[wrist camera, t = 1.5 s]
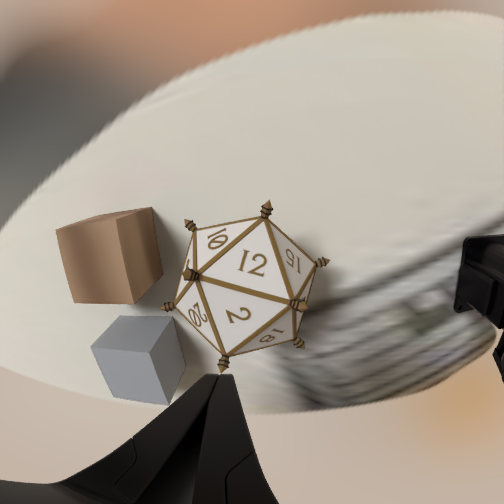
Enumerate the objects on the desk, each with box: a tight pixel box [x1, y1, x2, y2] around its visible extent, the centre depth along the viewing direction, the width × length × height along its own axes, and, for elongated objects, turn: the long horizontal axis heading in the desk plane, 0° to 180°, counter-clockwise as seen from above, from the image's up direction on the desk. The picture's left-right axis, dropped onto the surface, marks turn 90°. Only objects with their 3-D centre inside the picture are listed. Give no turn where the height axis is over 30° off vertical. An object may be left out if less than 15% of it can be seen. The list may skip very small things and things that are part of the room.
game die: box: [160, 200, 330, 373], centre depth 15 cm, size 9×8×10 cm
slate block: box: [91, 316, 186, 405], centre depth 19 cm, size 5×5×5 cm
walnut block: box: [56, 207, 163, 304], centre depth 17 cm, size 5×5×5 cm
